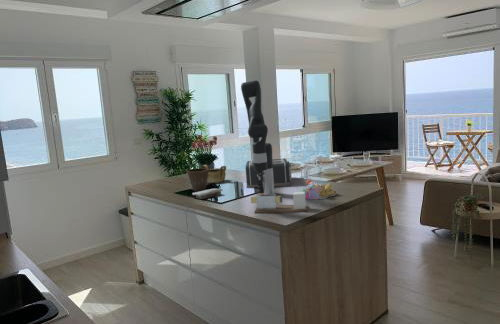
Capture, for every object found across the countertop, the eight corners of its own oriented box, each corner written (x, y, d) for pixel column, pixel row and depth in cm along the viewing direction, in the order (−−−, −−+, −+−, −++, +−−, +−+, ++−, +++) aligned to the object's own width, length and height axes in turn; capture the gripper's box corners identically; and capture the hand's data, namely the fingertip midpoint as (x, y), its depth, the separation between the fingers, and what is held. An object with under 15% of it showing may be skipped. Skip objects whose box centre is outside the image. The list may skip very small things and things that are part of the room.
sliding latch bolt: (252, 202, 221) (250, 181, 220) (282, 201, 218) (281, 180, 217) (251, 203, 218) (249, 182, 217) (281, 202, 215) (280, 181, 214)
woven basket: (197, 185, 313) (196, 166, 311) (211, 181, 327) (210, 163, 325) (219, 186, 300) (218, 167, 298) (233, 182, 314) (231, 163, 312)
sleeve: (258, 207, 222) (257, 194, 221) (276, 207, 220) (275, 193, 219) (257, 209, 217) (256, 196, 216) (275, 209, 215) (274, 195, 214)
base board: (258, 207, 226) (258, 206, 226) (307, 206, 220) (307, 204, 220) (254, 213, 214) (254, 211, 214) (307, 211, 209) (307, 210, 209)
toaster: (297, 186, 280) (295, 162, 278) (246, 189, 281) (244, 165, 279) (293, 179, 310) (292, 157, 308) (247, 182, 311) (246, 160, 309)
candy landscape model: (342, 193, 250) (341, 178, 248) (327, 201, 230) (326, 185, 229) (306, 191, 264) (305, 177, 263) (289, 198, 244) (288, 184, 243)
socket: (294, 206, 219) (293, 192, 218) (305, 205, 218) (304, 191, 217) (294, 209, 213) (293, 194, 212) (305, 208, 212) (304, 194, 211)
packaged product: (223, 195, 265) (215, 195, 272) (222, 188, 264) (214, 188, 272) (200, 201, 253) (192, 200, 261) (199, 193, 253) (191, 192, 261)
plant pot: (209, 193, 278) (207, 170, 276) (187, 194, 278) (185, 172, 276) (211, 189, 293) (209, 167, 291) (190, 190, 293) (188, 169, 291)
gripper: (255, 159, 223) (257, 190, 225) (251, 163, 209) (253, 195, 212) (268, 159, 222) (270, 189, 224) (265, 162, 208) (267, 195, 210)
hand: (262, 192), depth 218 cm, fingers closed on sliding latch bolt, 3 cm apart
